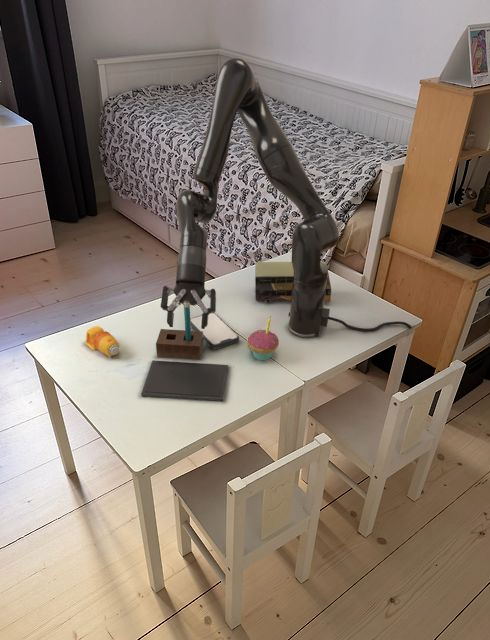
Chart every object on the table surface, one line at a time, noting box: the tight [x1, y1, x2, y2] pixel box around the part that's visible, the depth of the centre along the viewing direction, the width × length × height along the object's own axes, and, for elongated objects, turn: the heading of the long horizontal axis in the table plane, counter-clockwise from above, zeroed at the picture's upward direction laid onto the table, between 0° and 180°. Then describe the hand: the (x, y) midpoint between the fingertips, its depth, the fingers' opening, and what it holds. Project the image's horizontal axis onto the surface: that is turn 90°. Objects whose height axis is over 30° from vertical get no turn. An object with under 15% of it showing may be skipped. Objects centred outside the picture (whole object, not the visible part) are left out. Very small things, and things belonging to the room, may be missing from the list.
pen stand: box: [155, 328, 204, 361], centre depth 146 cm, size 12×7×4 cm, turn 87°
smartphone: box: [190, 312, 240, 350], centre depth 154 cm, size 9×2×16 cm
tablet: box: [140, 360, 229, 402], centre depth 137 cm, size 20×14×1 cm
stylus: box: [183, 301, 192, 341], centre depth 142 cm, size 2×2×16 cm
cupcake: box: [246, 315, 280, 361], centre depth 143 cm, size 9×8×12 cm
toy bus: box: [254, 261, 332, 304], centre depth 168 cm, size 10×23×10 cm, turn 89°
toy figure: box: [85, 325, 120, 357], centre depth 145 cm, size 5×6×12 cm
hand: (186, 327), depth 141 cm, fingers open, 8 cm apart
